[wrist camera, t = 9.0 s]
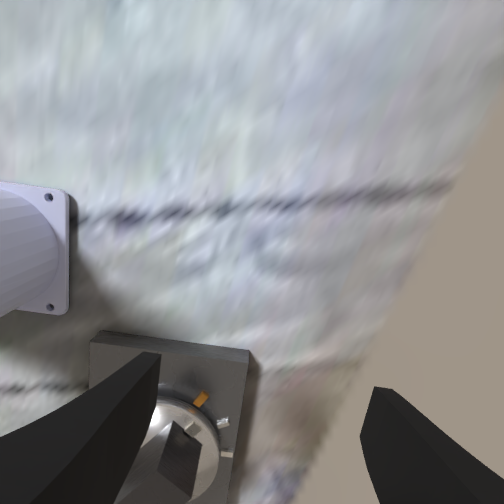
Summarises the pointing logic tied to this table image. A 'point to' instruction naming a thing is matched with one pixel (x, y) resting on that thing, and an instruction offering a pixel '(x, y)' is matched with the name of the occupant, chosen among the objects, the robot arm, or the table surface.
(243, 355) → the dial plate
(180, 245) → the table surface
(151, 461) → the dial
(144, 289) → the table surface
